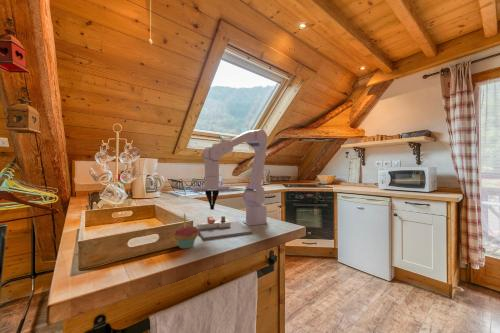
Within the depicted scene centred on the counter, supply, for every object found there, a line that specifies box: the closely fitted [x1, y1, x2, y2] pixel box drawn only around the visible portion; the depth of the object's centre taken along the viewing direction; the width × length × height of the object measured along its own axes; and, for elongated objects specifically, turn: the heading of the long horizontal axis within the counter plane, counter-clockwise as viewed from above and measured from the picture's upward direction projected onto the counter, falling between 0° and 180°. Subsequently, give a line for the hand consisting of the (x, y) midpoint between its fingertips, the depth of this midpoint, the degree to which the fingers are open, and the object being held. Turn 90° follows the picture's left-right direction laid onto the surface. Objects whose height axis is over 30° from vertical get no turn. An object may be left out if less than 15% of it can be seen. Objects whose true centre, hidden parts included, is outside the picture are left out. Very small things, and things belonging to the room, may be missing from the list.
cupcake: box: [174, 212, 199, 249], centre depth 80 cm, size 9×8×12 cm
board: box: [194, 220, 254, 241], centre depth 97 cm, size 20×16×1 cm
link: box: [196, 218, 232, 230], centre depth 98 cm, size 14×5×2 cm, turn 114°
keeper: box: [206, 215, 216, 223], centre depth 99 cm, size 2×5×5 cm, turn 24°
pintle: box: [220, 215, 226, 222], centre depth 100 cm, size 2×2×4 cm
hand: (212, 209), depth 94 cm, fingers closed
